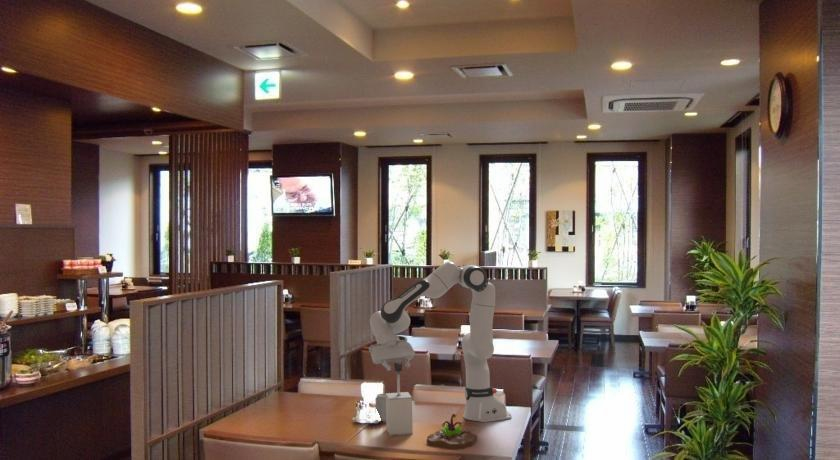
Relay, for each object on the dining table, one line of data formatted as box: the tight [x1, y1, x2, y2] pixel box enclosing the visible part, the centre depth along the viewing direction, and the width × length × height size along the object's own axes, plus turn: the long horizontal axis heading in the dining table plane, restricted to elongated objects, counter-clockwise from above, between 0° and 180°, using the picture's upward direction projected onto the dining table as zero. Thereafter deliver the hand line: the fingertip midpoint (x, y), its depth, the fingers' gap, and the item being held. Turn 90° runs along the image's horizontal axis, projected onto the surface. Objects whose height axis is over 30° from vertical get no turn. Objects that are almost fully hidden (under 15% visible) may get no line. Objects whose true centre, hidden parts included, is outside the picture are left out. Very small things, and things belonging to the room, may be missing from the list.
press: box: [385, 391, 414, 437], centre depth 300 cm, size 10×10×16 cm
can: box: [375, 393, 386, 423], centre depth 319 cm, size 8×8×12 cm
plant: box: [426, 413, 478, 450], centre depth 286 cm, size 20×20×11 cm
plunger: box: [393, 362, 403, 396], centre depth 300 cm, size 8×8×21 cm
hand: (399, 368), depth 300 cm, fingers open, 8 cm apart
